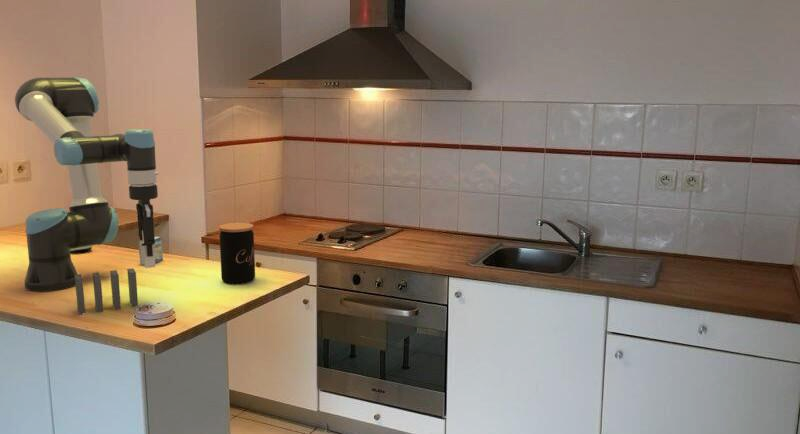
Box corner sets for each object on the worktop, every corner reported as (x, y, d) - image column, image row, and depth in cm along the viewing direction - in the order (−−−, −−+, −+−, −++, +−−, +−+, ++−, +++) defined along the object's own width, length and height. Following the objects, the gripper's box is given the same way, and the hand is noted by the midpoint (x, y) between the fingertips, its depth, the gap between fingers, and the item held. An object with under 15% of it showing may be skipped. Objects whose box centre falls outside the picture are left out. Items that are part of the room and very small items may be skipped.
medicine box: (151, 266, 241) (149, 241, 240) (139, 265, 242) (137, 241, 240) (163, 260, 249) (161, 236, 247) (151, 259, 250) (150, 236, 248)
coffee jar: (238, 287, 217) (236, 230, 214) (214, 281, 223) (211, 226, 219) (262, 279, 226) (260, 224, 222) (238, 274, 231) (236, 221, 228)
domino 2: (97, 311, 193) (94, 277, 191) (95, 306, 197) (92, 272, 196) (103, 311, 194) (100, 276, 192) (101, 306, 198) (98, 272, 196)
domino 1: (79, 314, 191) (75, 279, 189) (77, 309, 195) (74, 274, 193) (85, 313, 192) (82, 278, 190) (83, 308, 196) (80, 274, 194)
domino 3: (114, 309, 195) (112, 275, 193) (112, 304, 200) (110, 270, 198) (120, 308, 196) (118, 274, 194) (118, 303, 200) (116, 270, 198)
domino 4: (132, 307, 197) (129, 273, 196) (129, 302, 202) (127, 268, 200) (138, 306, 198) (135, 272, 196) (135, 301, 203) (133, 268, 201)
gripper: (162, 187, 190) (167, 270, 194) (151, 179, 205) (156, 256, 209) (133, 189, 186) (139, 273, 190) (124, 181, 202) (130, 259, 206)
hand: (148, 264), depth 200 cm, fingers closed on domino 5, 5 cm apart
